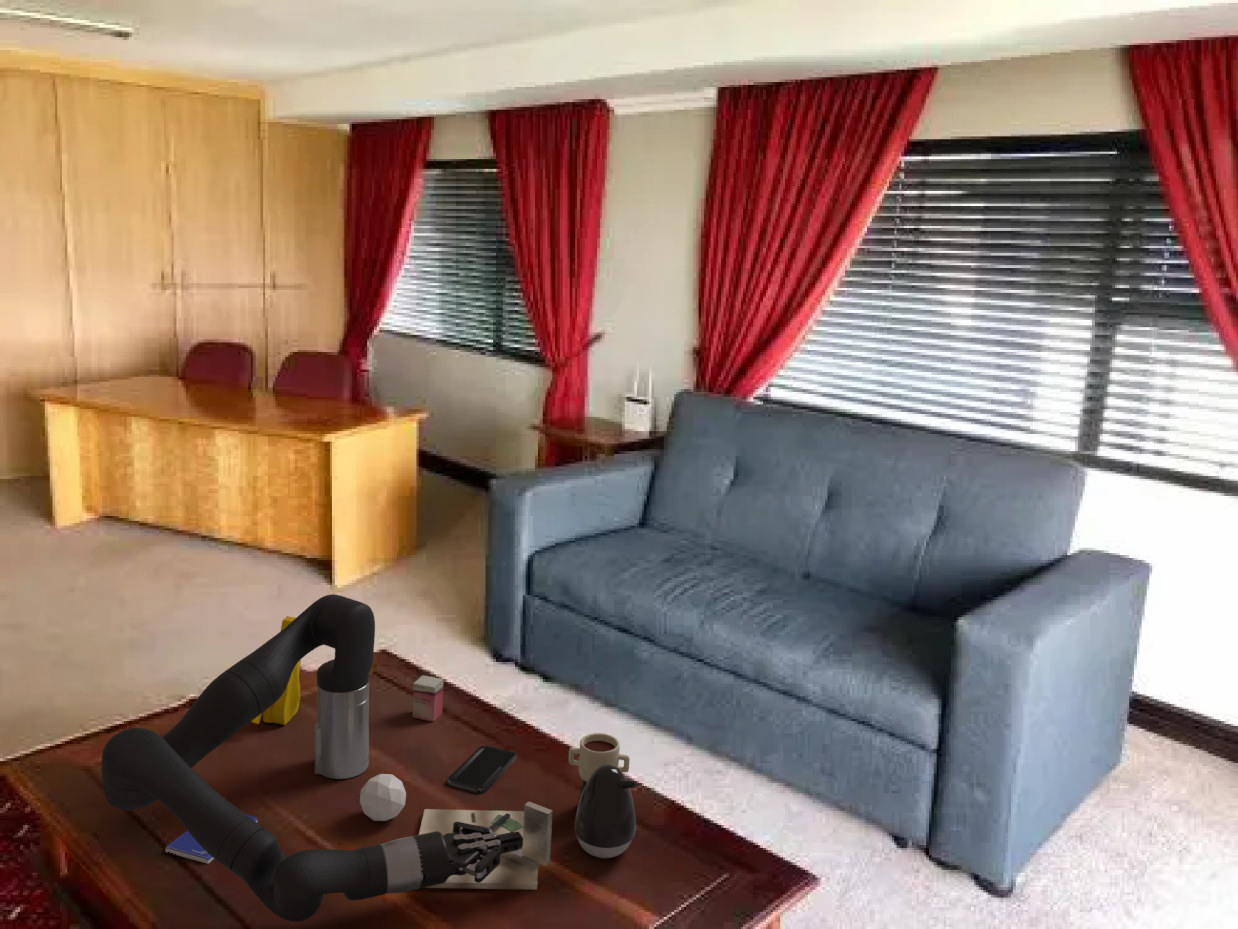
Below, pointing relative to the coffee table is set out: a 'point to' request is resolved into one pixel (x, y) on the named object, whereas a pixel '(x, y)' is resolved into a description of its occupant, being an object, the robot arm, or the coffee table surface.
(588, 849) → the pump dispenser
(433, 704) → the small box
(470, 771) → the phone
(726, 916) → the coffee table surface
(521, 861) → the key
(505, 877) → the dial board
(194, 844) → the hard drive
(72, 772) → the coffee table surface
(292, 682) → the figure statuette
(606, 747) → the character mug
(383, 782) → the geometric ball
